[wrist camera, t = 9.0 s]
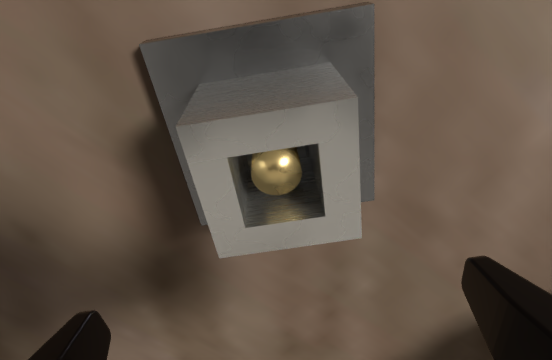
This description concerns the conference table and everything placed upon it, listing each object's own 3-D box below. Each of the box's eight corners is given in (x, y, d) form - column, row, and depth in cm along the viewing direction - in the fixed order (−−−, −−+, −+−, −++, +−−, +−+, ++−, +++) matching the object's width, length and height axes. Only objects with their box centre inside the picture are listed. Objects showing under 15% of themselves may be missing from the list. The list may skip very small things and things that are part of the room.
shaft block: (367, 1, 15) (410, 13, 11) (369, 190, 20) (398, 249, 16) (145, 40, 15) (101, 66, 11) (203, 214, 20) (189, 278, 16)
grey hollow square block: (330, 62, 15) (357, 97, 11) (338, 176, 18) (361, 238, 14) (198, 84, 15) (175, 127, 11) (228, 192, 19) (219, 258, 14)
